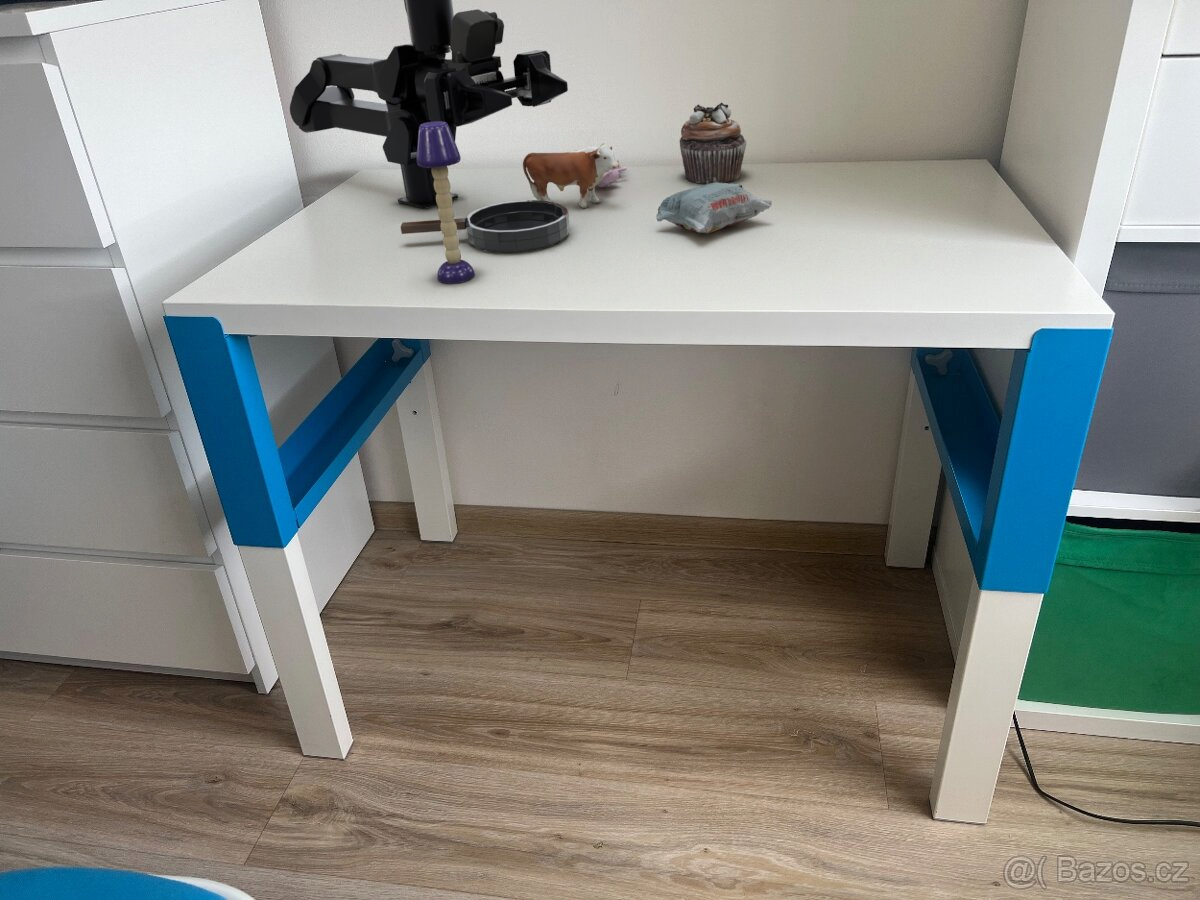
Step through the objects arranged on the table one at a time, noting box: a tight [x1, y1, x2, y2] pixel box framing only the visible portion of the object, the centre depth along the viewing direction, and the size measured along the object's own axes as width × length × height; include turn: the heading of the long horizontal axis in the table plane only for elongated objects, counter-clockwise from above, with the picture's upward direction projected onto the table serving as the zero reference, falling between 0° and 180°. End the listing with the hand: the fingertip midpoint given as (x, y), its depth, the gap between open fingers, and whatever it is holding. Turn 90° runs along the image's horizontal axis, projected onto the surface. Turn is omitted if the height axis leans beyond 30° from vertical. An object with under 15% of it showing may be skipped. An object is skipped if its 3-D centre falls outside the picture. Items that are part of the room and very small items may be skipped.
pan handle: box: [400, 217, 466, 235], centre depth 109 cm, size 8×2×1 cm, turn 93°
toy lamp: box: [417, 121, 476, 284], centre depth 95 cm, size 5×5×17 cm
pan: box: [464, 199, 571, 254], centre depth 109 cm, size 13×13×3 cm
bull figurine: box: [522, 144, 620, 209], centre depth 118 cm, size 4×13×8 cm, turn 76°
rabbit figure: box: [597, 142, 627, 189], centre depth 127 cm, size 6×6×15 cm
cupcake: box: [679, 102, 748, 185], centre depth 126 cm, size 10×10×10 cm
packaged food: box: [655, 182, 773, 234], centre depth 108 cm, size 9×12×5 cm
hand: (539, 93), depth 103 cm, fingers open, 9 cm apart
